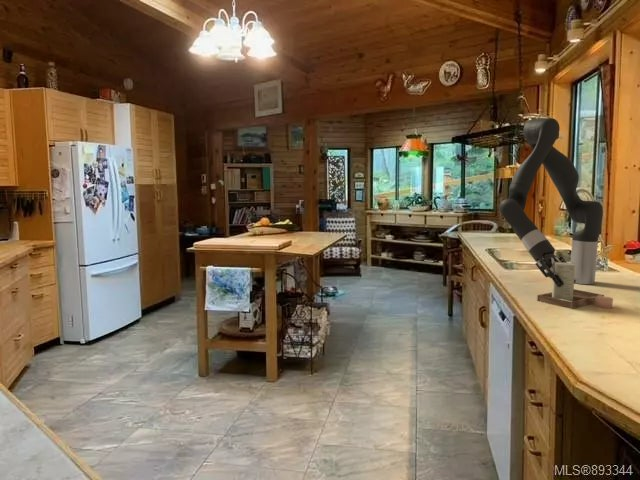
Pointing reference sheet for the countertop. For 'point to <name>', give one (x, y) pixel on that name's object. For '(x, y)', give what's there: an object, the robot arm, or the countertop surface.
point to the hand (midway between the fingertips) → (567, 284)
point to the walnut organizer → (578, 300)
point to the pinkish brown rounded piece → (603, 302)
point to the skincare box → (564, 280)
